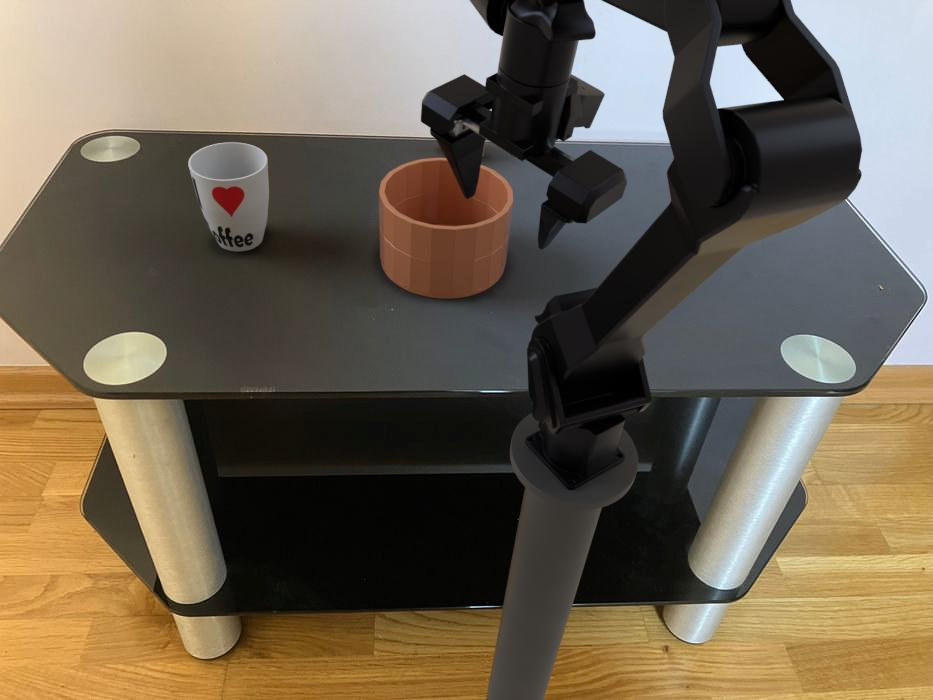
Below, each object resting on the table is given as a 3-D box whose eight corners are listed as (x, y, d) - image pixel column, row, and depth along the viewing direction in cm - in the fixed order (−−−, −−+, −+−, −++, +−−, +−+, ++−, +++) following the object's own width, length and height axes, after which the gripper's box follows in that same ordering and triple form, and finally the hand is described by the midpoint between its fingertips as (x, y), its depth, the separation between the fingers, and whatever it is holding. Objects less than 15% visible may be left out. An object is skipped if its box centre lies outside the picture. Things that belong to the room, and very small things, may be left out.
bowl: (530, 273, 88) (540, 205, 82) (424, 314, 82) (426, 244, 76) (459, 212, 97) (463, 146, 91) (357, 246, 90) (355, 177, 84)
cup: (189, 247, 88) (171, 168, 81) (231, 212, 94) (218, 135, 87) (251, 267, 86) (238, 187, 79) (290, 229, 92) (281, 153, 85)
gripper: (689, 86, 62) (635, 235, 74) (511, -8, 69) (488, 142, 81) (607, 138, 56) (563, 291, 68) (422, 29, 63) (411, 185, 75)
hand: (505, 221), depth 73 cm, fingers open, 9 cm apart
